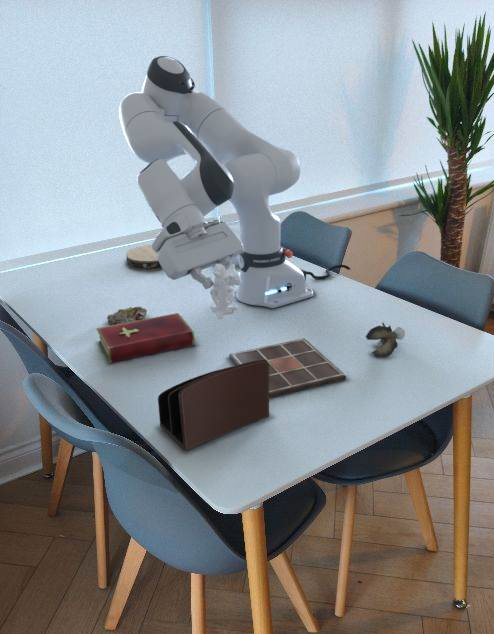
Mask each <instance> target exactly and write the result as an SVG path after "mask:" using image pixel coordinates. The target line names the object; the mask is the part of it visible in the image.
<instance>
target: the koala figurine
mask: <svg viewBox="0 0 494 634" xmlns="http://www.w3.org/2000/svg"><path fill="white" fill-rule="evenodd" d="M213 267H214V271H213V272H212V274H213V275H214V279H213V280H212V281H213V286H212V287H211V288H209V294H210V296H211V300H212V301H213V302H214V304H215V305H210V306H209V309H210V311H212V312H214V313H215V315H216V318H217V319H218V320H222V319H223V318H224V317H225V316H227V315H233V314H234V312H235V311H238V308H239V306H238V305H237V304H234V305H231V304H232V302H233V301H234V298H235V296H236V293H235V292H234V291H235V286H238V285H240V284H241V283H242V281H241V279H240V276H239V272H238V271H237V270H236V266H235V265H234V264H232V265H230V266H229V268H228V269H227V270H225V267H224V266H223V265H222V264H216V265H213Z"/></svg>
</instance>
